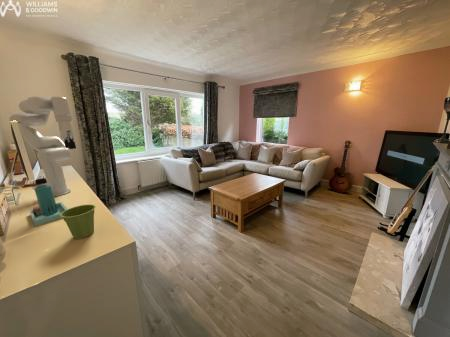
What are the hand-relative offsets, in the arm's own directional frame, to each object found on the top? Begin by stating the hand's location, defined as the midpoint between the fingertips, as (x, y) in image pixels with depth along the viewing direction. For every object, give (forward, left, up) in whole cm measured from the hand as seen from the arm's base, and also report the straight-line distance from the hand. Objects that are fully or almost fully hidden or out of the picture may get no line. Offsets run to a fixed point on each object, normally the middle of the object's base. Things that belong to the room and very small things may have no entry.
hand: (70, 148), depth 115 cm
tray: (+17, -18, -32) cm, 41 cm away
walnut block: (+11, -21, -32) cm, 40 cm away
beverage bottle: (+19, -18, -32) cm, 41 cm away
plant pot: (+53, -12, -32) cm, 63 cm away
